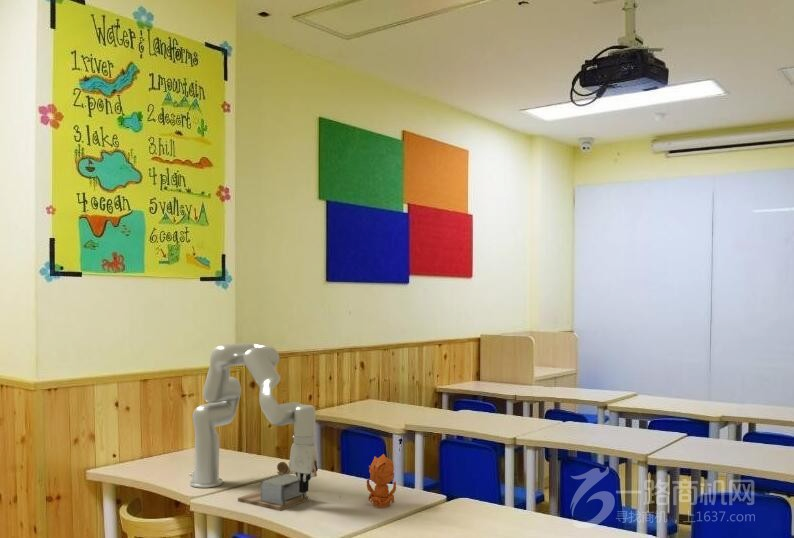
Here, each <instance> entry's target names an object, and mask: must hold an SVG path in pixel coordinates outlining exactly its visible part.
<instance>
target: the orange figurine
mask: <svg viewBox="0 0 794 538" xmlns="http://www.w3.org/2000/svg"><path fill="white" fill-rule="evenodd" d="M368 468H369V470H368V472H369V474H370V475H369V476H370V477H369V478H367V479H366V489H367V491H368V492H369V495H368V498H367V499H368V502H371V504H373V507H375V508H382V509H383V508H388V507H390V505H391V504H394V503H395V502H396V501H395V492H396V491H397V481H396V480H395V472H394V470H395V467H394V462H393V461H392V459H390V458H388V457H386V454H384V453H383V454H382V455H381V456H379V457H377V456H375V455H374V457H373V460H372V462H371V463H370V465H368ZM393 480H394V481H393ZM370 481H371V482H373V483H374V484H375V486H374V488H372V485H371V484H370ZM392 481H393V486H392V489H391V490H390V491H389V485H388V484H390V483H391V482H392Z"/></svg>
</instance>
